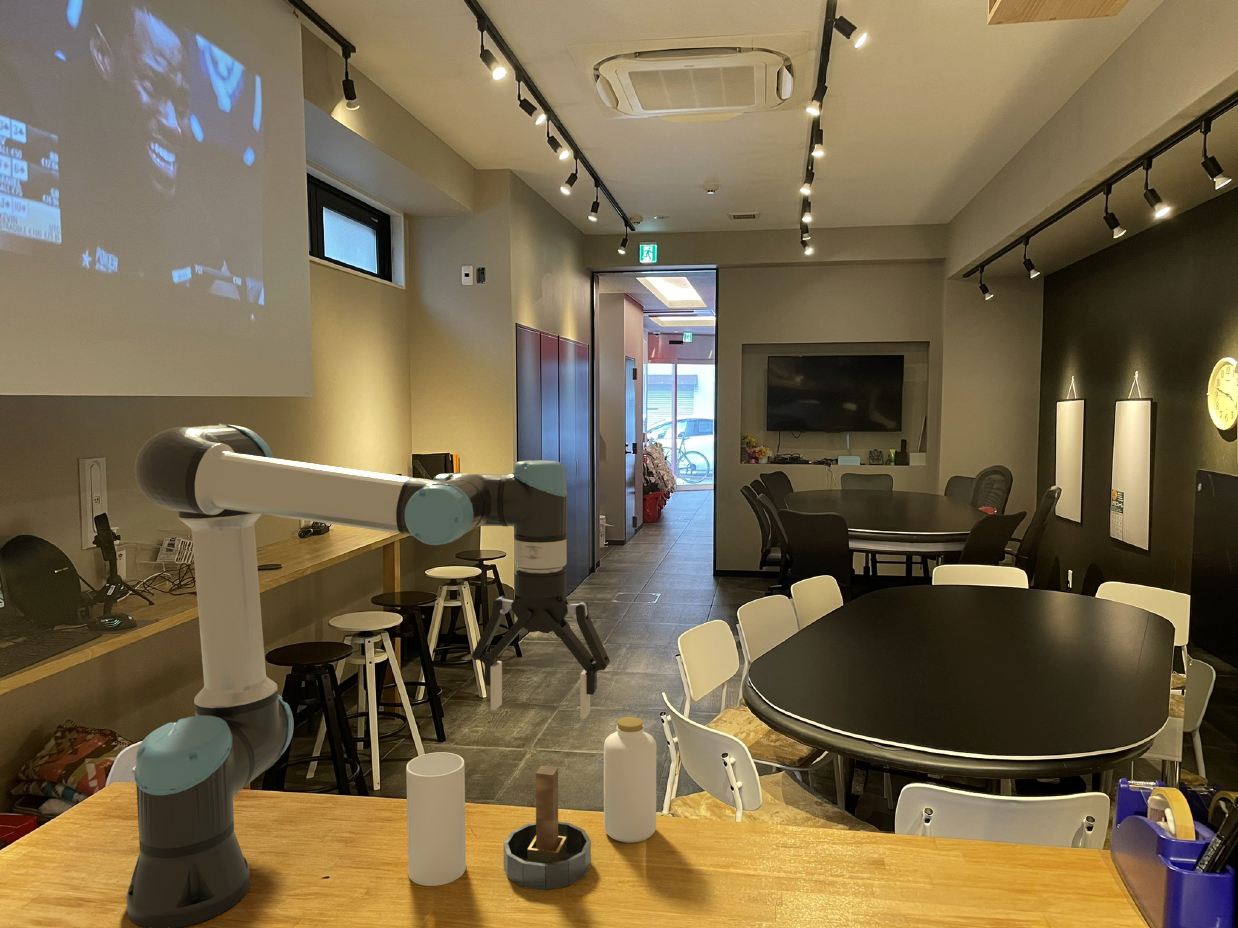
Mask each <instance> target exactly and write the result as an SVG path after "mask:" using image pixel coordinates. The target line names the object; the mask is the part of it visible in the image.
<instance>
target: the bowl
mask: <svg viewBox="0 0 1238 928" xmlns="http://www.w3.org/2000/svg"><path fill="white" fill-rule="evenodd" d="M591 843H592V840H591V839H590V837H589V835H588V833H587V832H586V830H585V829H583V828H581V827H579V826H578V825H575V824H573V823H570V822H563V821H558V848H557V850H556V851H551V850H543V849H536V822H532V823H531V822H530V823H526V824H525V825H522V826H520V827H519V828H516V829H514V830H513V831H510V833H509V834H508V836H507V838H506V839H505V840H504V842H503V868H504V872H505V874H506V877H507V879H508V880H510V881H511V882H514V883H516V884H517V885H519V886H520V887H522V888H524V889H526V888H527V889H532V890H533V889H534V890H542V891H549V890H555V889H560V888H566V887H569V886H572V885H574V884H575V883H576V882H578V881H580V880H581V879H583V878H585V877H586V876H587V874H588V872H589V869H590V867H591V864H592V853H591V852H592V849H591V847H592V844H591Z"/></svg>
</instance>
